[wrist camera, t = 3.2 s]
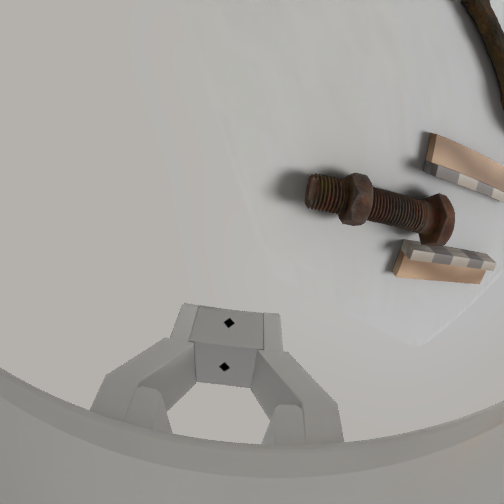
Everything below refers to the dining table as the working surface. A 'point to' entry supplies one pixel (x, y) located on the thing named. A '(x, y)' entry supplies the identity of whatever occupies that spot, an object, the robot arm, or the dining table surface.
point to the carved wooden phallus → (489, 34)
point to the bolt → (381, 206)
